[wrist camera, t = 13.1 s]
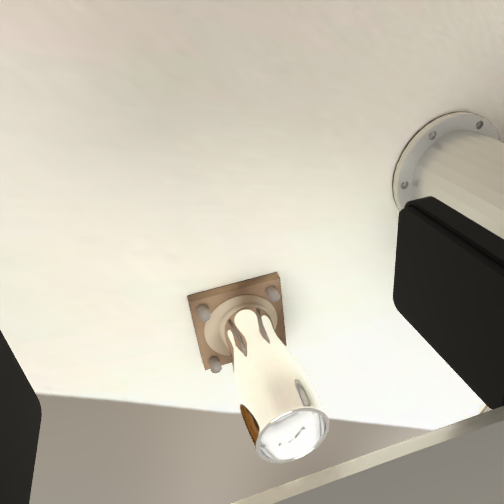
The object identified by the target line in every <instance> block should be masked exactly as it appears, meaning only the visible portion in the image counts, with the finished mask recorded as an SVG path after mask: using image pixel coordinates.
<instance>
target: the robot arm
mask: <svg viewBox="0 0 504 504" xmlns="http://www.w3.org/2000/svg"><path fill="white" fill-rule="evenodd" d="M393 192H394V198H395V202H396V205H397V207H398V208H399V210H400V213H399V221H398V234H397V248H396V262H395V276H394V289H393V300H394V304H395V306H396V308H397V310H398V311H399V312H400V313H401V314H402V315H403V316H404V317H405V319H406V320H407V321H408V322H409V323H410V324H411V325H412V326H413V327H414V328H415V329H416V330H417V331H418V332H419V333H420V335H421V336H422V337H423V338H424V339H425V340H426V341H427V342H428V343H429V344H430V345H431V346H432V347H433V348H434V349H435V351H436V352H437V353H438V354H439V355H440V356H441V357H442V358H443V359H444V360H445V361H446V362H447V363H448V364H449V365H450V367H451V368H452V369H453V370H454V371H455V372H456V373H457V374H458V375H459V376H460V377H461V378H462V379H463V380H464V381H465V382H466V384H467V385H468V386H469V387H470V388H471V389H472V390H473V391H474V392H475V393H476V394H477V395H478V396H479V397H480V398H481V400H482V401H483V402H484V403H485V404H486V405H487V406H488V407H489V408H491V409H493V410H490V411H488V412H485V413H482V414H479V415H476V416H473V417H471V418H468V419H465V420H462V421H459V422H456V423H454V424H451V425H448V426H445V427H442V428H439V429H437V430H434V431H431V432H429V433H425V434H423V435H420V436H417V437H414V438H411V439H408V440H405V441H403V442H400V443H397V444H394V445H391V446H389V447H386V448H383V449H380V450H378V451H375V452H372V453H369V454H367V455H364V456H361V457H358V458H355V459H352V460H350V461H347V462H344V463H341V464H338V465H336V466H333V467H330V468H328V469H325V470H322V471H319V472H316V473H313V474H311V475H308V476H305V477H302V478H300V479H297V480H294V481H291V482H288V483H286V484H283V485H280V486H277V487H275V488H272V489H269V490H266V491H263V492H261V493H258V494H255V495H252V496H250V497H247V498H244V499H241V500H239V501H236V502H233V503H230V504H504V142H502V141H500V139H499V136H498V133H497V131H496V129H495V128H494V126H493V125H492V124H491V123H490V122H489V121H488V120H487V119H485V118H483V117H481V116H478V115H475V114H472V113H468V112H456V113H451V114H447V115H445V116H442V117H440V118H437V119H436V120H434V121H433V122H431V123H429V124H428V125H426V126H425V127H424V128H423V129H422V130H421V131H420V132H418V133H417V134H416V136H415V137H414V138H413V139H412V140H411V141H410V143H409V144H408V146H407V147H406V149H405V150H404V152H403V153H402V155H401V158H400V160H399V162H398V164H397V168H396V171H395V175H394V182H393ZM41 415H42V414H41V406H40V402H39V400H38V398H37V396H36V394H35V392H34V390H33V389H32V387H31V385H30V383H29V381H28V380H27V378H26V376H25V374H24V372H23V370H22V369H21V367H20V365H19V363H18V361H17V360H16V358H15V356H14V354H13V352H12V351H11V349H10V347H9V345H8V343H7V341H6V340H5V338H4V336H3V334H2V332H1V331H0V504H29V500H30V492H31V486H32V479H33V472H34V465H35V458H36V451H37V444H38V437H39V430H40V423H41Z"/></svg>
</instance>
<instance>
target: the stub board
mask: <svg viewBox="0 0 504 504" xmlns="http://www.w3.org/2000/svg"><path fill="white" fill-rule="evenodd" d="M187 298H188V302H189V306H190V310H191V314H192V319H193V323H194V327H195V331H196V335H197V339H198V344H199V348H200V352H201V356H202V360H203V364H204V368H205V370H207V369H211V371H212V372H213V373H218V372H220V371H221V369H222V367H221V365H224V364H228V363H231V362H232V359H231V355H230V353H229V350H228V349H227V347H226V346H225V344H224V343H223V341H222V340H221V338H220V335H219V325H220V322H221V320H222V318H223V317H224V315H225V314H226V313H227V312H228V311H230V310H231V309H233V308H234V307H236V306H239V305H242V304H246V303H255V304H259V305H261V306H263V307H265V308H266V309H267V310H268V311H269V313H270V315H271V317H272V321H273V326H274V329H275V332H276V334H277V336H278V338H279V339H280V340H281V342H282V343H283V344H284V345H285V346H286V336H285V326H284V315H283V305H282V295H281V284H280V277H279V276H278V274H277V273H272V274H268V275H264V276H261V277H257V278H253V279H249V280H245V281H242V282H238V283H234V284H230V285H227V286H223V287H219V288H215V289H211V290H208V291H204V292H200V293H196V294H193V295H189V296H187Z"/></svg>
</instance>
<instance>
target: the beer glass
mask: <svg viewBox="0 0 504 504" xmlns="http://www.w3.org/2000/svg"><path fill="white" fill-rule="evenodd" d="M219 335H220V338H221V340H222V341H223V343H224V344H225V346H226V347H227V349H228V350H229V353H230V355H231V359H232V365H233V374H234V383H235V390H236V396H237V401H238V404H239V408H240V411H241V414H242V417H243V420H244V422H245V425H246V427H247V430H248V432H249V434H250V436H251V439H252V441H253V443H254V445H255V448H256V451H257V453H258V455H259V456H260V457H261V458H262V459H263V460H265V461H268V462H272V463H286V462H291V461H294V460H297V459H299V458H302V457H304V456H306V455H308V454H309V453H311V452H312V451H314V450H315V449H316V448H317V447H318V446H319V445H320V444H321V443H322V442H323V440H324V439H325V438H326V435H327V434H328V431H329V425H330V424H329V419H328V417H327V415H326V413H325V411H324V409H323V406H322V404H321V401H320V399H319V397H318V394H317V392H316V390H315V388H314V386H313V384H312V382H311V380H310V378H309V377H308V375H307V373H306V372H305V370H304V369H303V367H302V366H301V365H300V363H299V362H298V361H297V359H296V358H295V357H294V356H293V354H292V353H291V352H290V351H289V350H288V349H287V347H286V346H285V345H284V344H283V343H282V342H281V340H280V339H279V338H278V336H277V334H276V332H275V329H274V326H273V321H272V317H271V315H270V313H269V311H268V310H267V309H266V308H265V307H263V306H261V305H259V304H255V303H246V304H242V305H239V306H236V307H234V308H233V309H231V310H230V311H228V312H227V313H226V314H225V315H224V317H223V318H222V320H221V322H220V325H219Z"/></svg>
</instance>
